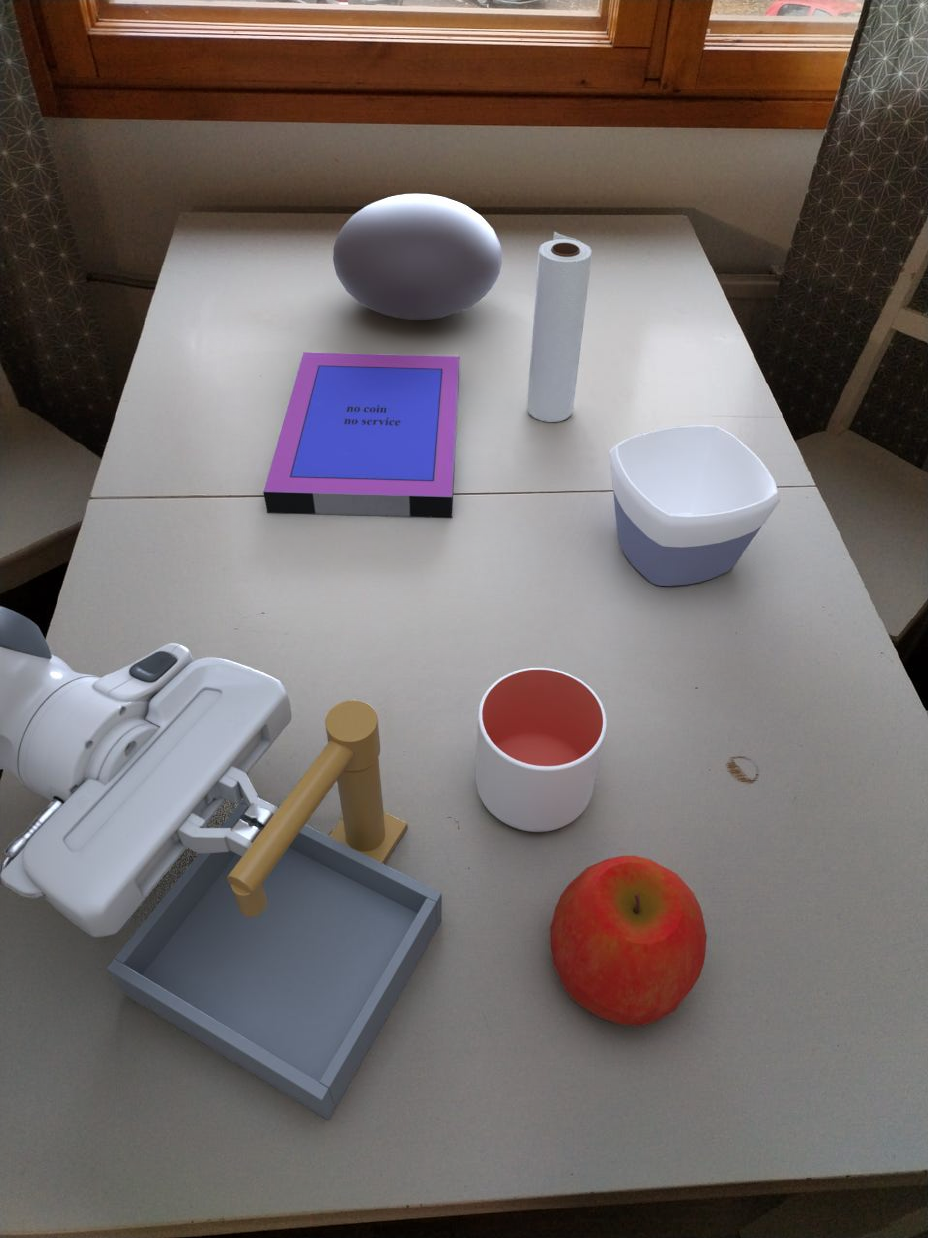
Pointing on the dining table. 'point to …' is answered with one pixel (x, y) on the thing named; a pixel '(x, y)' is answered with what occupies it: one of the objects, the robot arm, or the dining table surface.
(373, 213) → the smooth stone
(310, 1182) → the dining table surface
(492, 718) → the cup
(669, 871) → the apple
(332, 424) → the book
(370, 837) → the faucet base
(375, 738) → the spout
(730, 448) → the bowl
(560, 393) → the paper towel roll
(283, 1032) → the sink
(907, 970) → the dining table surface
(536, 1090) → the dining table surface
